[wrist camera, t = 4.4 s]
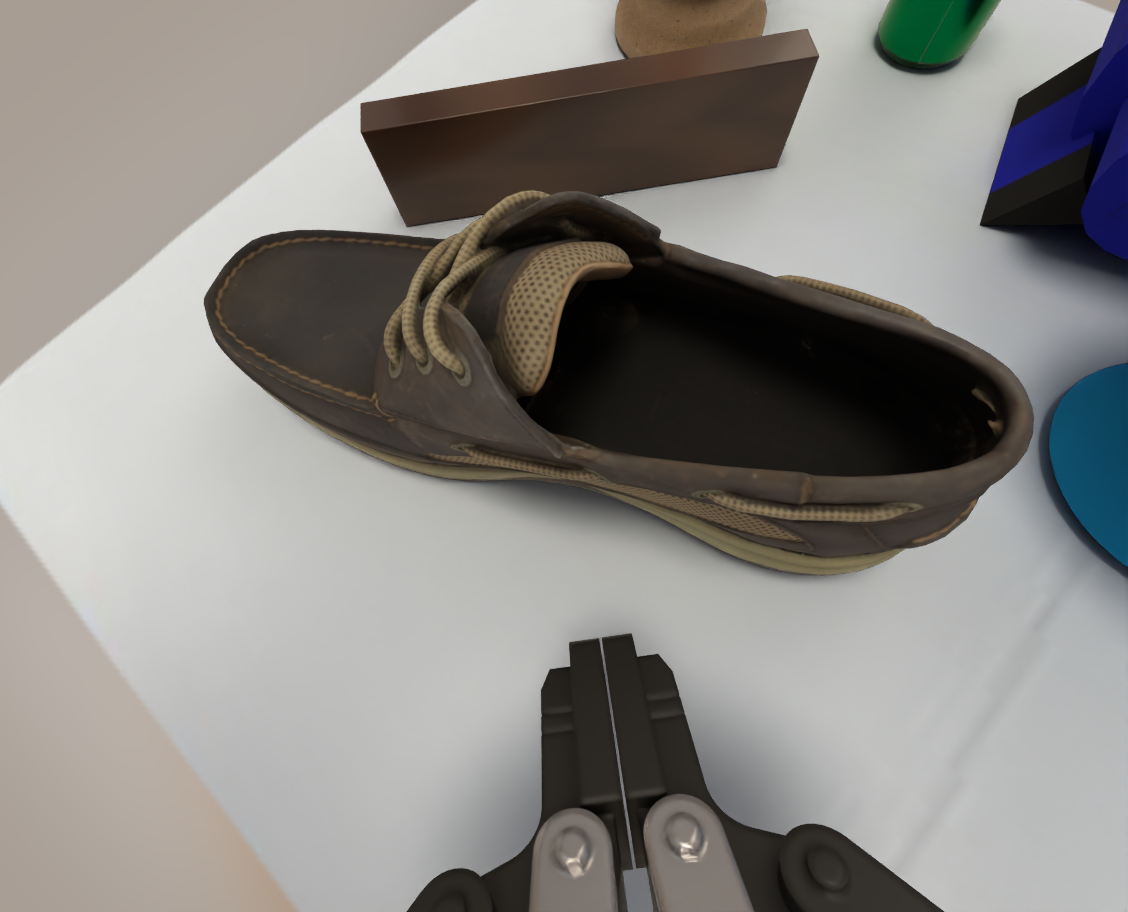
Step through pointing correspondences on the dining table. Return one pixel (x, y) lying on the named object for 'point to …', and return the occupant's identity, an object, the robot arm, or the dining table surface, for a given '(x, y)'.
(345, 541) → the dining table surface
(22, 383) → the dining table surface
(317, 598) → the dining table surface
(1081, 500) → the vase
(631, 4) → the candle holder
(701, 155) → the thin brown rectangular board
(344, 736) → the dining table surface
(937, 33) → the soda can
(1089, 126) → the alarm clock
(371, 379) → the boat shoe
